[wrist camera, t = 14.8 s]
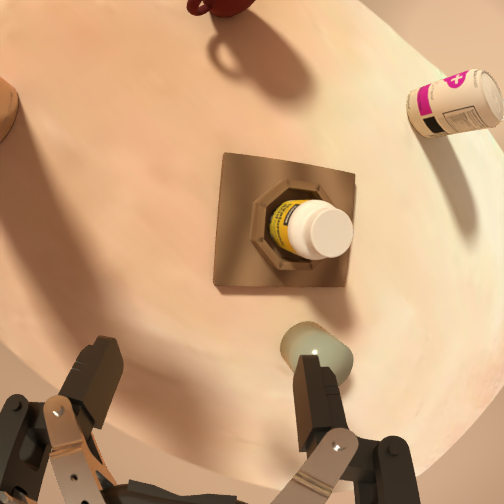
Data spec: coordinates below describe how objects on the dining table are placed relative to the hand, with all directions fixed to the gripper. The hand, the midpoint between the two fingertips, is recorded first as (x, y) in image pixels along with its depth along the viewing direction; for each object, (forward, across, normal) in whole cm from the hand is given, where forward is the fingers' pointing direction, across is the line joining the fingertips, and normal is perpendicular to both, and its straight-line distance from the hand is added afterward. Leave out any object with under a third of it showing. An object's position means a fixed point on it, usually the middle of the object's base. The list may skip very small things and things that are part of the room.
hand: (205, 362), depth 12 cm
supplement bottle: (+22, +6, -2) cm, 23 cm away
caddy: (+23, +6, -2) cm, 24 cm away
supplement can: (+35, +28, +14) cm, 46 cm away
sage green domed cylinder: (+18, +10, -17) cm, 27 cm away
